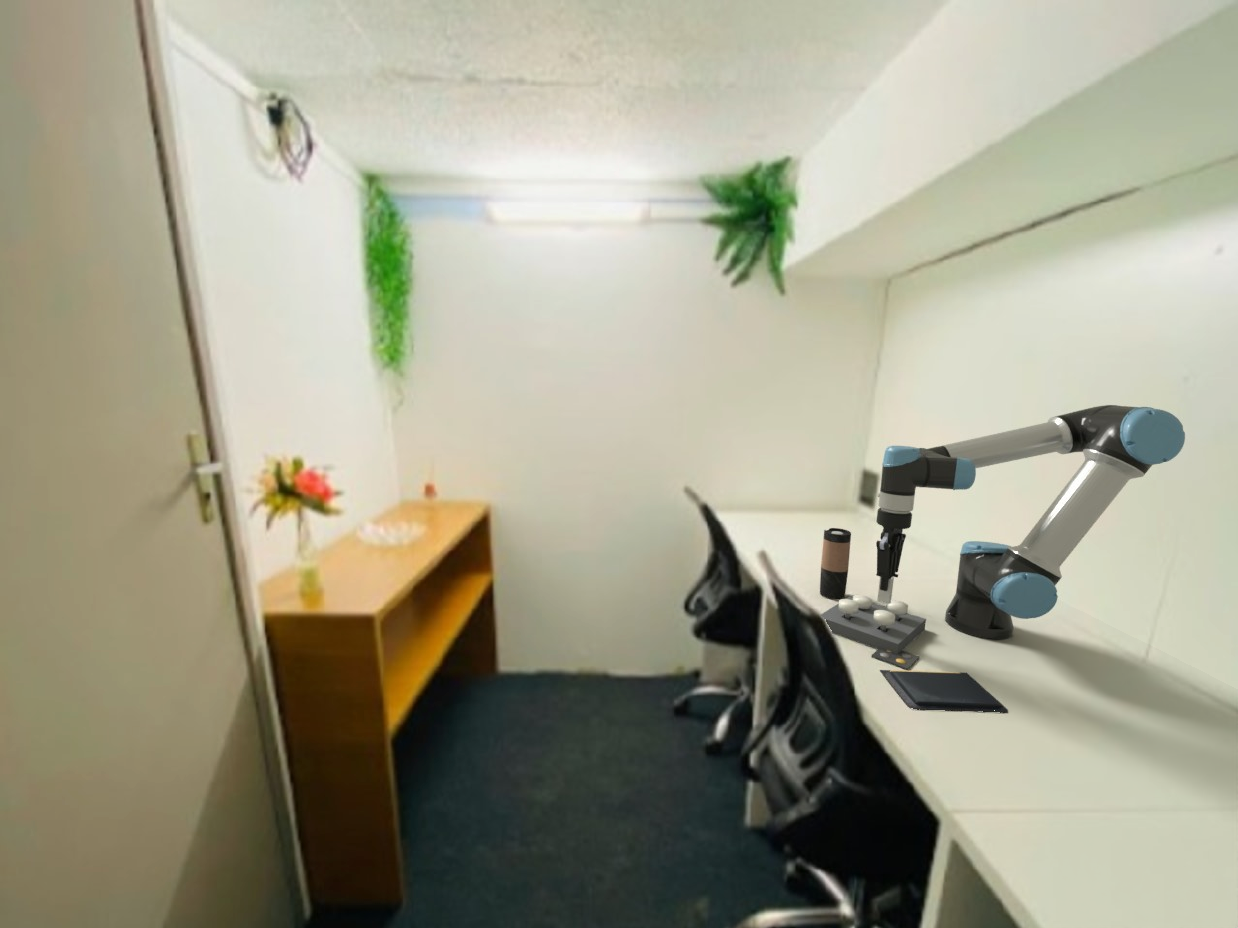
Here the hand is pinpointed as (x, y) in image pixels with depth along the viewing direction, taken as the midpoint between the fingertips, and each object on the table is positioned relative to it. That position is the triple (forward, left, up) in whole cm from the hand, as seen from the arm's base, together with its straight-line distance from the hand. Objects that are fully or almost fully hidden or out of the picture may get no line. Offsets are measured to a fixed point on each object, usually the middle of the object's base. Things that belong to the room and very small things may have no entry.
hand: (884, 601), depth 135 cm
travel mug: (+21, -19, -11) cm, 30 cm away
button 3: (+9, -9, -10) cm, 16 cm away
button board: (+4, -5, -10) cm, 12 cm away
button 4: (+9, 0, -8) cm, 12 cm away
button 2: (0, 0, -8) cm, 8 cm away
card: (-6, +6, -10) cm, 13 cm away
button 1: (0, -9, -8) cm, 12 cm away
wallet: (-18, +13, -11) cm, 25 cm away
